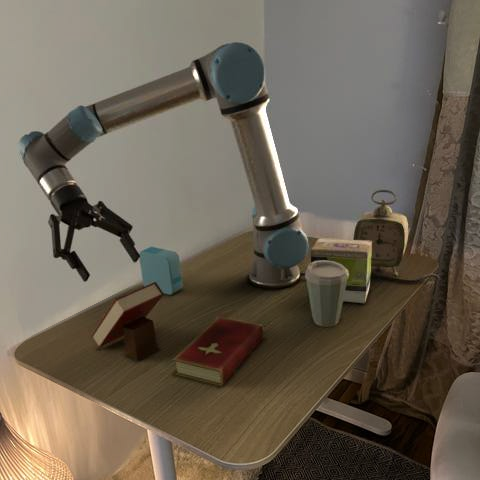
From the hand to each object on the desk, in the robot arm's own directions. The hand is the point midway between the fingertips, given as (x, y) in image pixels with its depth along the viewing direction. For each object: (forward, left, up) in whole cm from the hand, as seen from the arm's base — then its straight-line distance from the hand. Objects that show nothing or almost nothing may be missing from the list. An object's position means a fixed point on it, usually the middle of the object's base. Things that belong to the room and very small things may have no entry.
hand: (113, 268), depth 117 cm
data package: (+5, -32, -20) cm, 38 cm away
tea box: (-47, -37, -20) cm, 63 cm away
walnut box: (-5, +3, -20) cm, 21 cm away
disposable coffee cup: (-45, -21, -20) cm, 54 cm away
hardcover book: (-24, 0, -20) cm, 32 cm away
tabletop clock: (-56, -55, -20) cm, 81 cm away
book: (-3, +1, -13) cm, 13 cm away
